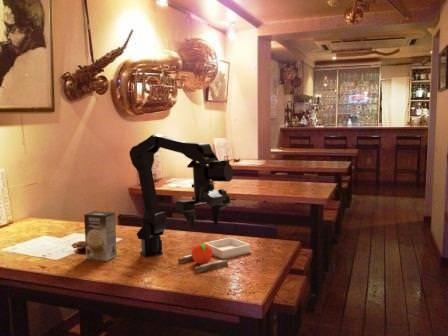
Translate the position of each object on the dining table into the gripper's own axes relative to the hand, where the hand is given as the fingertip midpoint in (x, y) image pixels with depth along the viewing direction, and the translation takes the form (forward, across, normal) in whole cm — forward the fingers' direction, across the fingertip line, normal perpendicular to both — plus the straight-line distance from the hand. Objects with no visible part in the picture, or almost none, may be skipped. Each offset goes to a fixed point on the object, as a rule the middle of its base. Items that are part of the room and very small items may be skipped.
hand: (204, 227), depth 134 cm
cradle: (+12, -1, 0) cm, 12 cm away
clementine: (+12, -1, 0) cm, 12 cm away
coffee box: (+11, -24, +30) cm, 40 cm away
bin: (+12, +13, +6) cm, 19 cm away
